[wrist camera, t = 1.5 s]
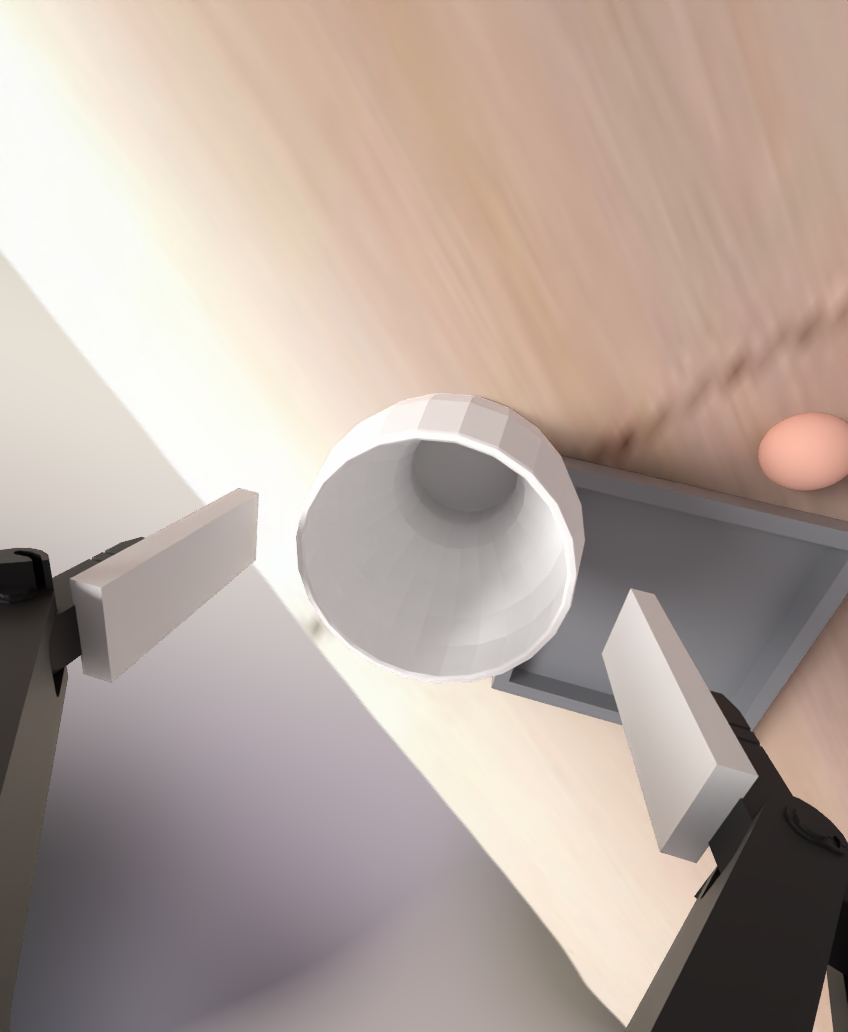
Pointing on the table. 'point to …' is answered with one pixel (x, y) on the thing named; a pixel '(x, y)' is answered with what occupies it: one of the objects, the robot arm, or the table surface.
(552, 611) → the cup
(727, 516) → the tray
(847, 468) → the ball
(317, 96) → the table surface
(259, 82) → the table surface
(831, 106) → the table surface
